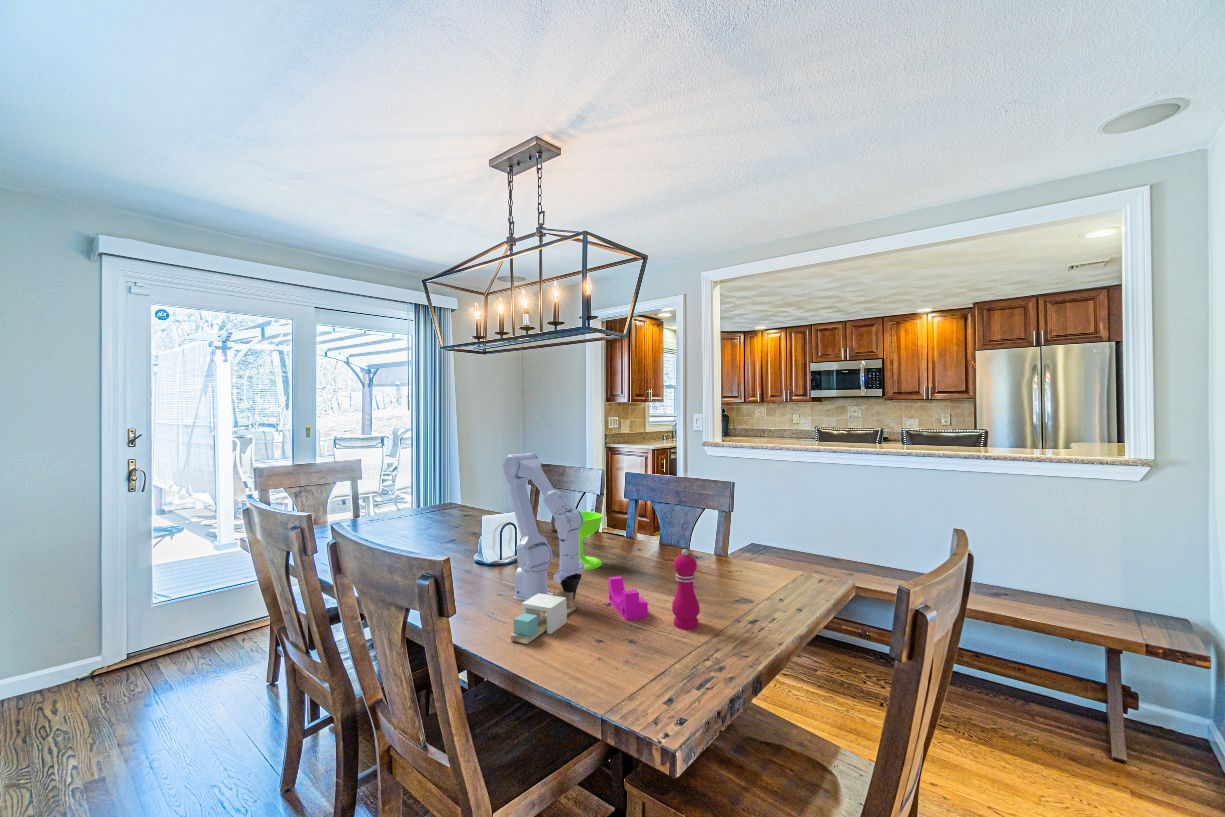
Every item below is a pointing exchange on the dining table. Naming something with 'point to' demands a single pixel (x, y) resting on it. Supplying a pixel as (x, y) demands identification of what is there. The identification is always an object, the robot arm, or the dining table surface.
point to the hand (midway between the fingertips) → (570, 600)
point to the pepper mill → (685, 593)
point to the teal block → (526, 625)
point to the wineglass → (588, 528)
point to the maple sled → (545, 619)
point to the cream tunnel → (547, 609)
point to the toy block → (626, 600)
